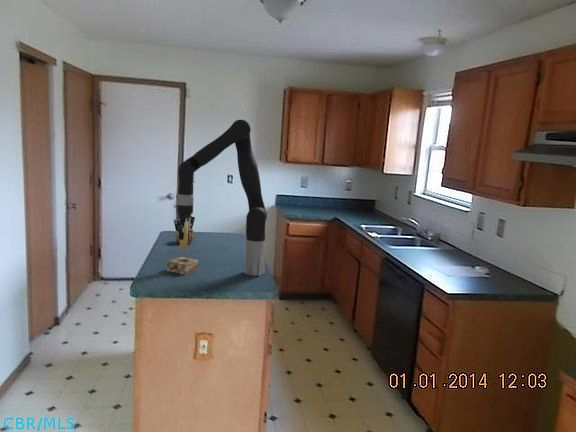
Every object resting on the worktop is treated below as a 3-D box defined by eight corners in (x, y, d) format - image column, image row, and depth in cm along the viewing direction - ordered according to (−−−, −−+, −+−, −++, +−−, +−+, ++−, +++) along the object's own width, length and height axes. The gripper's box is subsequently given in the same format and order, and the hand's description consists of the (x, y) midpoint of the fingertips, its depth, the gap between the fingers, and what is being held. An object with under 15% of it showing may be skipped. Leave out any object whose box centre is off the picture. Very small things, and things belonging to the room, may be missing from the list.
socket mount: (198, 270, 220) (198, 260, 219) (181, 276, 208) (181, 266, 207) (179, 266, 224) (180, 256, 223) (162, 272, 212) (162, 262, 211)
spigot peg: (188, 249, 217) (189, 220, 215) (184, 250, 214) (185, 221, 211) (182, 247, 218) (183, 219, 216) (178, 249, 215) (179, 220, 213)
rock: (180, 240, 279) (180, 224, 277) (196, 242, 277) (196, 226, 276) (172, 244, 267) (173, 228, 265) (189, 246, 266) (189, 229, 264)
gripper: (182, 206, 204) (181, 242, 207) (200, 203, 217) (198, 237, 220) (169, 204, 207) (168, 240, 210) (187, 201, 220) (186, 235, 223)
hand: (183, 238), depth 215 cm, fingers closed on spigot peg, 3 cm apart
